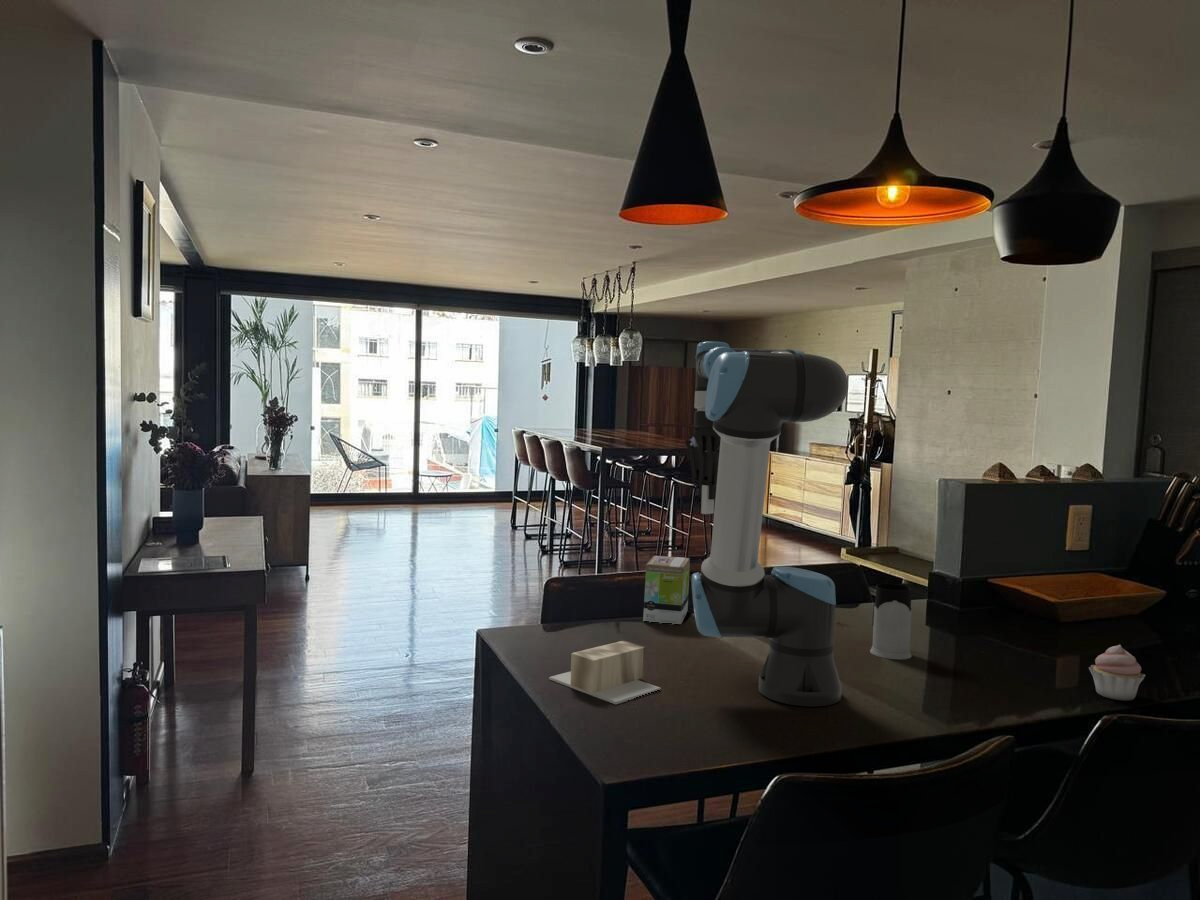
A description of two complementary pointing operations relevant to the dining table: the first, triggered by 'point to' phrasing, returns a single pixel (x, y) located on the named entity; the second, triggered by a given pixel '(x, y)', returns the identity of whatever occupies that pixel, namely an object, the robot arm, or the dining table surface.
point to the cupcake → (1116, 674)
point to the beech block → (607, 666)
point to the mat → (611, 689)
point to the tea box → (666, 589)
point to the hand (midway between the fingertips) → (707, 513)
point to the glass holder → (892, 622)
